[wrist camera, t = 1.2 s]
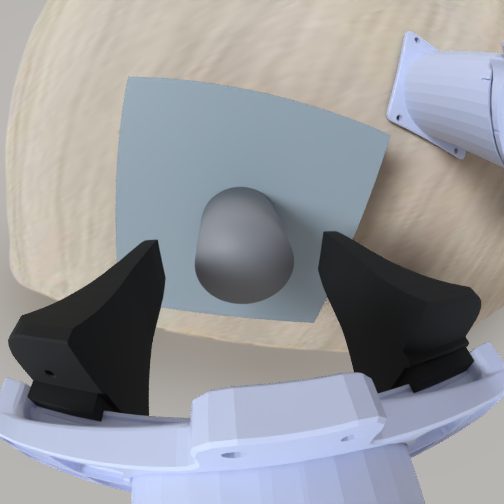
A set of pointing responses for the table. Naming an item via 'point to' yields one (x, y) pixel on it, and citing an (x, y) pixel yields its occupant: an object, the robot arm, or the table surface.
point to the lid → (239, 193)
